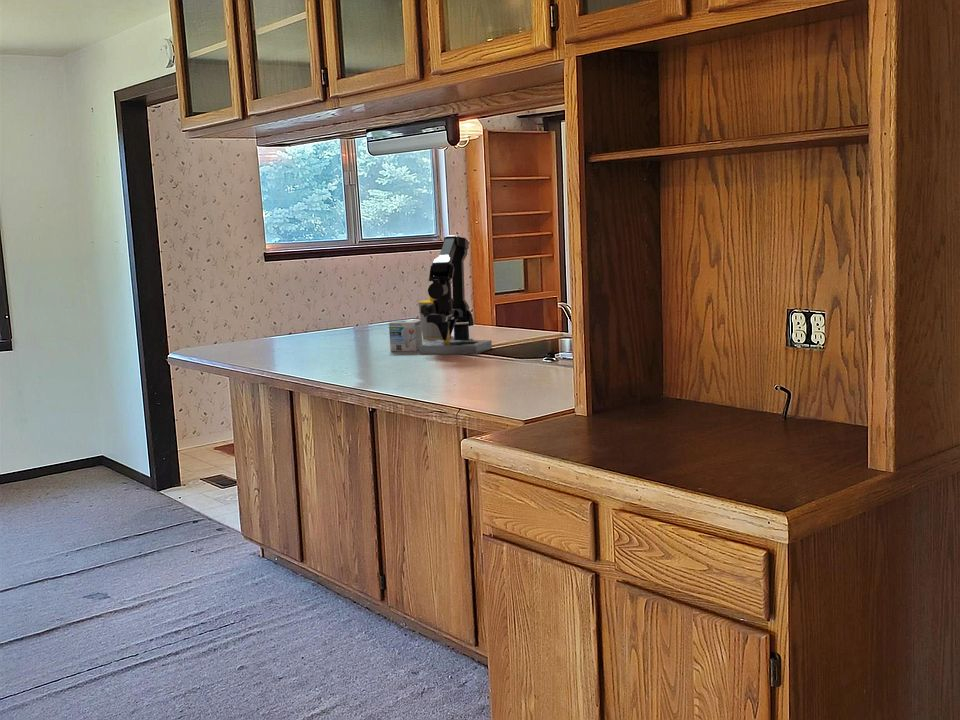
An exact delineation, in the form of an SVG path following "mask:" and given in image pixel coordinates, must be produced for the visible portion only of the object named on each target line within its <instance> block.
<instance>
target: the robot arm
mask: <svg viewBox="0 0 960 720" xmlns="http://www.w3.org/2000/svg"><path fill="white" fill-rule="evenodd" d="M443 237H444V238H443V244H442V248H441V250H440V253H439V256H438V257H436V258H434V259H433V262H432V263H431V265H430V270H429V276H428V277H429V278H428V281H429V282H432V283H431V284H429V285H430V286H428V288H427V294H428V296H429V298H430V297H431V298H433V299H436V300H434V301H433V304H432V305H430V306H427V305H426V304H425V305H422V306H421V309H420V310H421V312H420V311H419V314H420V313H421V314H423V316H424V317H426V316H427V317H426V322H427V323H434V324H436V325H437V326H438V328H439V330H440V333H441V336H442V338H441V340H446V339H447V335H448V330H449V335H450V336H451V337H452V333H454V334H453V335H454V340H474V339H473V338H470V328H469V327H471V326H474V325H475V324H474V323H475V322H474V318H473V314H472V312H471V309H470V306H469V303H468V302H467V300H466V298H465V295H466V294H465V269H464V267H465V266H464V264H465V263H464V261H465V259H466V257H467V255H468V250H469V249H470V247H469V246H470V244H469V240H468V239H467V238H466V237H461V236H459V235H456V234H453V235H452V234H450V235H446V236H443Z"/></svg>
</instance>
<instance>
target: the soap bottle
mask: <svg viewBox="0 0 960 720" xmlns="http://www.w3.org/2000/svg"><path fill="white" fill-rule="evenodd" d="M430 285H431V284H429V286H430ZM429 286H428V287H429ZM434 300H436V299H433V298H431V297H430V296H429V299H424V300H420V301H418V310H419V318H420V319H419V320H421V326H422V339H425V340H441V339H442V336H441V333H440V330H439V328H438V326H437V325H436V324H434V323H427V322H426V317H427V316H426V317H424V316H423V314H421V313H420V312H421V310H420V309H421V306H422V305H425V304H426V305H427V306H430V305H432V304H433V301H434ZM451 337H452V335H451V336H450V338H451Z"/></svg>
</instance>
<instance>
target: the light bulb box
mask: <svg viewBox="0 0 960 720" xmlns="http://www.w3.org/2000/svg"><path fill="white" fill-rule="evenodd" d="M388 330H389V331H388V332H389V347H390V348H389V349H390V352H417V351H420V345H423V344H424V342H423V336H422V326H421V319H412V320H411V319H409V320H408V319H404V320H401V319H400V320H393V321H389V323H388Z"/></svg>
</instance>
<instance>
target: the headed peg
mask: <svg viewBox="0 0 960 720" xmlns="http://www.w3.org/2000/svg"><path fill="white" fill-rule="evenodd" d="M442 340H443V339H442ZM450 340H451V337H450V335H449V330H448V335H447V339H446V340H443V343H450Z"/></svg>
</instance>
